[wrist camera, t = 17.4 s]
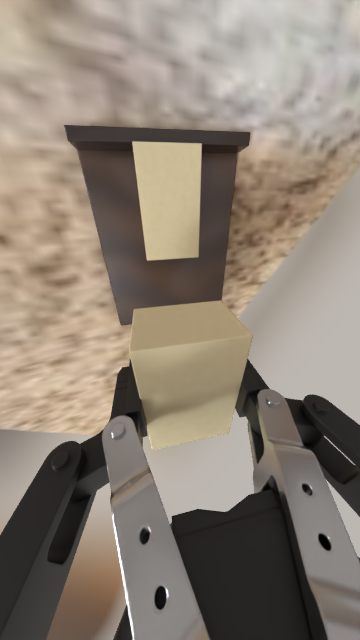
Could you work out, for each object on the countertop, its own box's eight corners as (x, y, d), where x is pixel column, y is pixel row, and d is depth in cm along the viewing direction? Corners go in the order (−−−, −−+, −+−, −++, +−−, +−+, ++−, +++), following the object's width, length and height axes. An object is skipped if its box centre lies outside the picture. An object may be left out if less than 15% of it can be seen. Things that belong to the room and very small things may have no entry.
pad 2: (133, 308, 9) (128, 352, 6) (221, 300, 10) (254, 335, 7) (150, 398, 13) (151, 450, 10) (211, 388, 14) (228, 433, 11)
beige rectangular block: (134, 155, 15) (132, 141, 12) (190, 156, 15) (202, 143, 12) (146, 253, 19) (146, 260, 16) (190, 251, 20) (198, 257, 17)
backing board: (78, 141, 14) (63, 124, 12) (233, 145, 16) (250, 131, 14) (121, 321, 24) (119, 334, 21) (216, 310, 26) (225, 321, 23)
